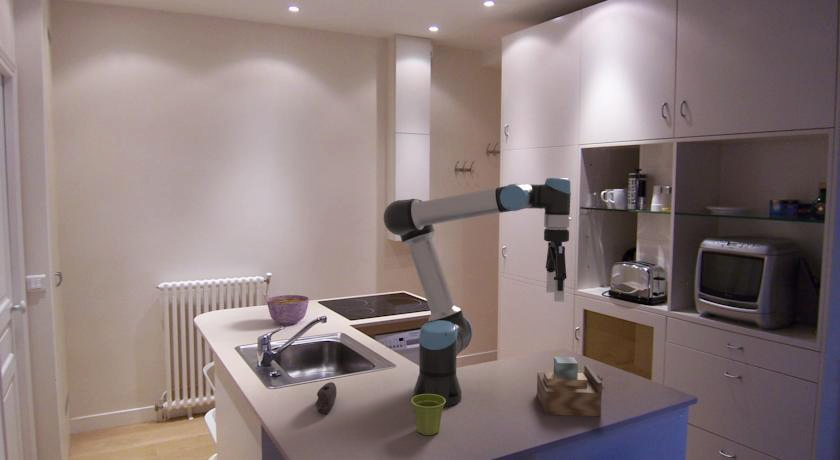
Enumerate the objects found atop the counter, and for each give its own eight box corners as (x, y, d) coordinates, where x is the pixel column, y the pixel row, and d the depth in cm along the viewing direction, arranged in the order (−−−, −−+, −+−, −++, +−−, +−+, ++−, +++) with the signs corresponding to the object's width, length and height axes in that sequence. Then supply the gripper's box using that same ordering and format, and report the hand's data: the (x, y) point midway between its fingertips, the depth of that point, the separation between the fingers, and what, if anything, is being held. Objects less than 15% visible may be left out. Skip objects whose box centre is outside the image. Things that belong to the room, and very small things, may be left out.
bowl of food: (259, 327, 254) (258, 302, 253) (277, 316, 274) (277, 294, 273) (300, 329, 251) (299, 304, 250) (315, 318, 271) (315, 295, 270)
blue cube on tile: (546, 385, 165) (547, 362, 164) (543, 378, 171) (544, 356, 170) (587, 386, 164) (588, 363, 163) (582, 379, 170) (583, 357, 169)
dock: (545, 414, 160) (546, 381, 159) (536, 393, 176) (537, 363, 175) (600, 416, 159) (602, 382, 159) (587, 395, 175) (588, 364, 174)
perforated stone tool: (325, 396, 173) (325, 375, 172) (341, 397, 172) (341, 375, 172) (312, 417, 158) (312, 393, 157) (330, 417, 157) (330, 394, 157)
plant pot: (409, 423, 153) (410, 393, 153) (443, 422, 154) (443, 393, 154) (412, 439, 144) (412, 407, 143) (447, 438, 145) (447, 406, 144)
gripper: (578, 232, 155) (576, 305, 157) (560, 225, 180) (559, 289, 181) (551, 231, 155) (549, 305, 157) (537, 225, 180) (536, 288, 182)
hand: (554, 296), depth 169 cm, fingers open, 13 cm apart
